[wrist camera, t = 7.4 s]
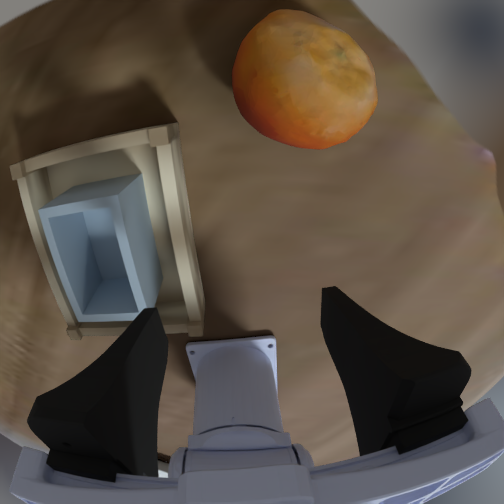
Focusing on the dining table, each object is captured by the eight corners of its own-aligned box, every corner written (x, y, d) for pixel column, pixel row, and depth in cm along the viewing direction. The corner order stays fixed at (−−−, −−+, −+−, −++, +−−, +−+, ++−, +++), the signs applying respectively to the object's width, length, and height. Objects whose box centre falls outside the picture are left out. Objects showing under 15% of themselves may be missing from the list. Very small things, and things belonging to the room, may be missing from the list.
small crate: (163, 277, 23) (150, 319, 18) (100, 282, 22) (78, 322, 18) (142, 173, 19) (117, 194, 14) (73, 186, 19) (38, 209, 14)
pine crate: (205, 302, 25) (202, 336, 21) (86, 310, 24) (70, 339, 21) (178, 122, 18) (166, 126, 15) (39, 154, 18) (9, 166, 14)
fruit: (178, 99, 16) (230, 23, 9) (255, 40, 18) (323, -22, 11) (269, 189, 19) (362, 170, 12) (328, 118, 21) (412, 86, 14)
